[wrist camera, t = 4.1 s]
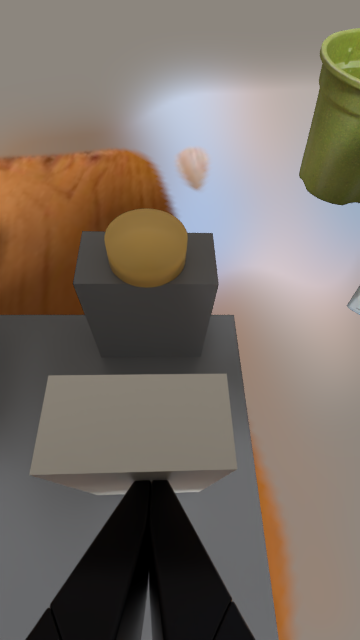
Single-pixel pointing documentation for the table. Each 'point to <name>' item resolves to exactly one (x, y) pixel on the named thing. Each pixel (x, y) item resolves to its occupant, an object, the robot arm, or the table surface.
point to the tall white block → (135, 431)
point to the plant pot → (336, 124)
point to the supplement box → (355, 302)
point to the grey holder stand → (123, 359)
